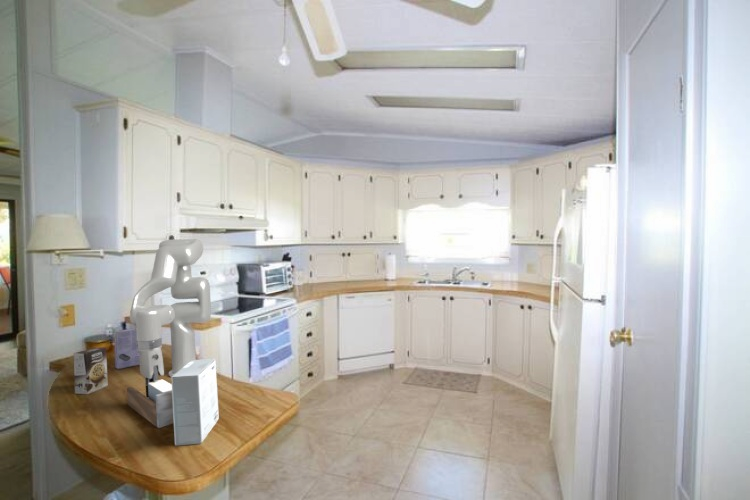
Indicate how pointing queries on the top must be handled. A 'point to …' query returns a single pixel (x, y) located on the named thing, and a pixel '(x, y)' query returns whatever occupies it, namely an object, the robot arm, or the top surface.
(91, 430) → the top surface
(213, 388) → the hard drive box
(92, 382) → the coffee box
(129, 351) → the cake pan box
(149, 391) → the boxed book
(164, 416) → the book rack
